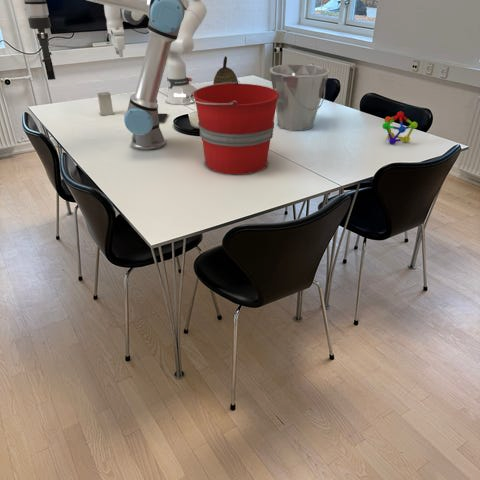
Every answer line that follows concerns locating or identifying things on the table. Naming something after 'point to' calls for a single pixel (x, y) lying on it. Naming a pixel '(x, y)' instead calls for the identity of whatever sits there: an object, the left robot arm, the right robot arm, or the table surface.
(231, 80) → the bell
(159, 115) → the smartphone
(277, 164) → the table surface
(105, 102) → the brick
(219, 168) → the bucket
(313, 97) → the bucket
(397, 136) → the educational toy
